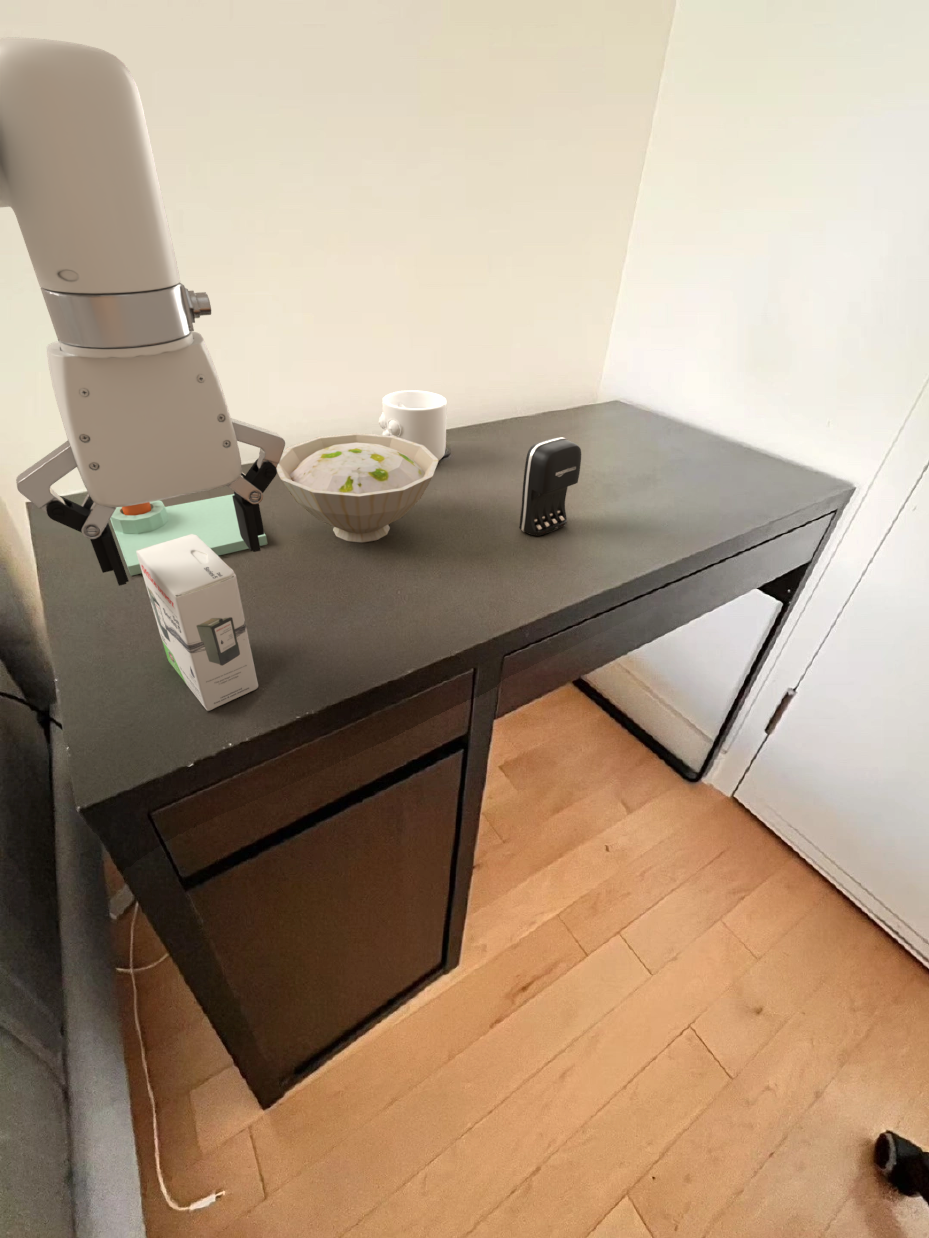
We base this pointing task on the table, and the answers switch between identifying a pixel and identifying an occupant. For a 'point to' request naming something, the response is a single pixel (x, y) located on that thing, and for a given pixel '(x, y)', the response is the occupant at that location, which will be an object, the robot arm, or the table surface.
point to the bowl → (357, 480)
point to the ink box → (199, 618)
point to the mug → (416, 419)
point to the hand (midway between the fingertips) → (188, 559)
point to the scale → (180, 527)
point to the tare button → (137, 509)
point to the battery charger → (548, 484)
